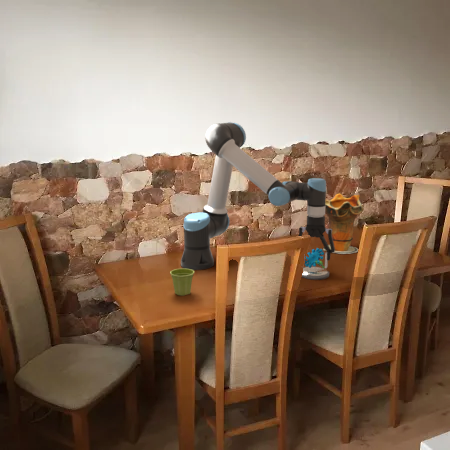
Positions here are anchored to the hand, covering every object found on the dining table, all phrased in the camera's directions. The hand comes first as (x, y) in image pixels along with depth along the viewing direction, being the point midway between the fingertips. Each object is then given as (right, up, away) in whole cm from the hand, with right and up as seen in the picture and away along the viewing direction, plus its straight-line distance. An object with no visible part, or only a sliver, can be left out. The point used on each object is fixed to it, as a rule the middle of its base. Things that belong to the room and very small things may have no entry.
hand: (314, 266), depth 222 cm
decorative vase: (+20, +5, +39) cm, 45 cm away
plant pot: (-55, -9, -20) cm, 59 cm away
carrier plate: (0, -4, +1) cm, 4 cm away
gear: (0, 0, 0) cm, 1 cm away
